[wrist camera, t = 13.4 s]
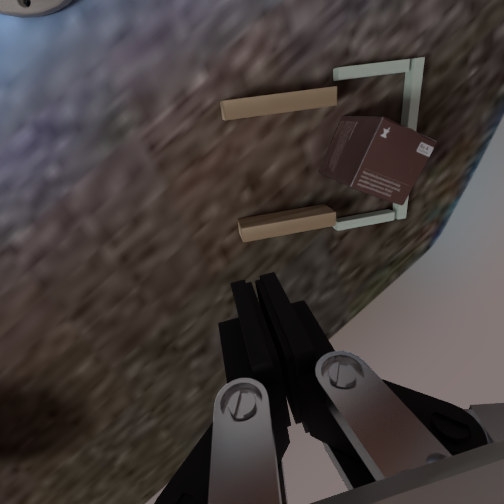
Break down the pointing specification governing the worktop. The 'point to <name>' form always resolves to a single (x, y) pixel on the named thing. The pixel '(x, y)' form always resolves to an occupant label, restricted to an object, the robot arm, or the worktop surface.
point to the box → (377, 156)
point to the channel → (287, 219)
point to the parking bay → (407, 119)
